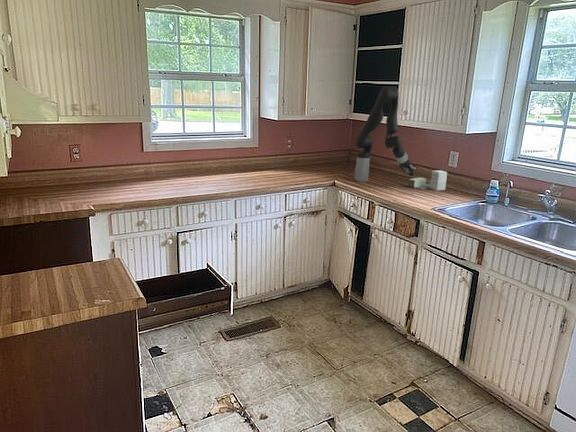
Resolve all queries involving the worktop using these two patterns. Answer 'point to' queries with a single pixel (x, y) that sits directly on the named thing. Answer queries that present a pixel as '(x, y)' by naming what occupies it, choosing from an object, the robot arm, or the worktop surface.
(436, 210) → the worktop surface
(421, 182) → the block
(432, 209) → the worktop surface
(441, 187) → the supplement box
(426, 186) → the mat
